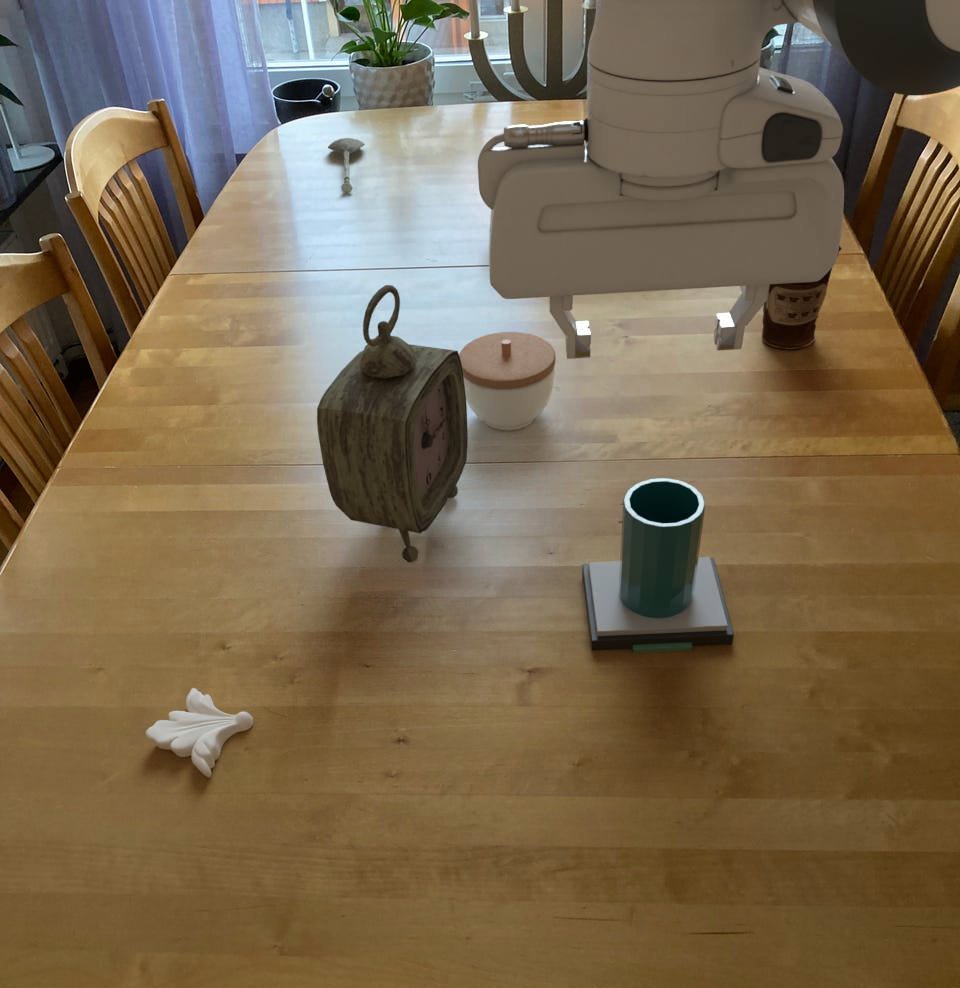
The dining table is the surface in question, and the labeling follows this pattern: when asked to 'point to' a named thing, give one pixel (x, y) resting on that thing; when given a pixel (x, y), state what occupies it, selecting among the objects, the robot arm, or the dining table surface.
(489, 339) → the trinket box
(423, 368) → the tabletop clock
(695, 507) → the tumbler
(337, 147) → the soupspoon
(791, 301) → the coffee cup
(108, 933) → the dining table surface
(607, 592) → the scale
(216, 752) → the acanthus leaf ornament
